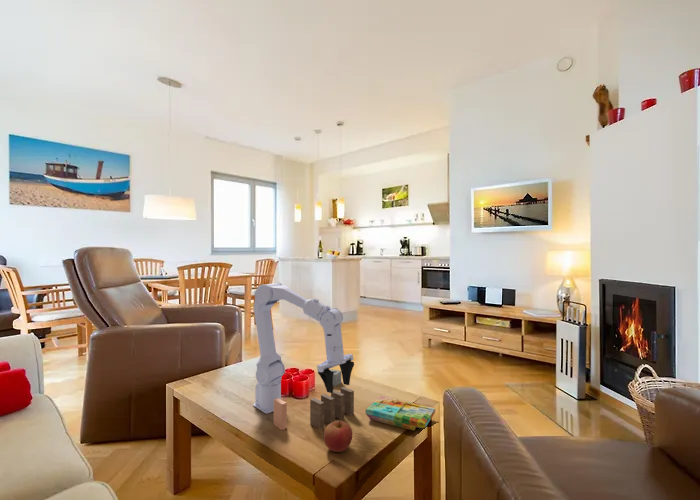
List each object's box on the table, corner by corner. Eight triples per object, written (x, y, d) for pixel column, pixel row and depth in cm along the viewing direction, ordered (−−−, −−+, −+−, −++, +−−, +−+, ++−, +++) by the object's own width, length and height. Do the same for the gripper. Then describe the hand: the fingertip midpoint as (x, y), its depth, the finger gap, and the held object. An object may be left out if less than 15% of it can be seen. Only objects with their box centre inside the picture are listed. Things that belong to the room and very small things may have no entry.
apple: (355, 442, 99) (355, 415, 99) (348, 458, 91) (348, 428, 91) (329, 439, 101) (329, 412, 101) (320, 454, 93) (320, 425, 93)
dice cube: (335, 386, 141) (335, 374, 141) (325, 384, 143) (325, 372, 143) (341, 382, 146) (341, 370, 146) (331, 380, 148) (331, 369, 148)
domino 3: (330, 424, 109) (330, 399, 110) (320, 419, 113) (320, 395, 113) (334, 423, 111) (334, 398, 111) (324, 417, 114) (324, 393, 114)
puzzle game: (379, 394, 123) (435, 405, 113) (379, 407, 123) (435, 420, 113) (365, 406, 113) (425, 421, 103) (365, 421, 113) (425, 436, 103)
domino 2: (320, 429, 106) (320, 404, 106) (310, 424, 110) (310, 399, 110) (324, 428, 108) (324, 402, 108) (314, 422, 111) (314, 397, 111)
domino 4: (340, 420, 113) (340, 395, 113) (330, 415, 116) (331, 391, 116) (344, 418, 114) (344, 394, 114) (334, 413, 117) (334, 390, 117)
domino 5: (350, 415, 116) (350, 392, 116) (340, 410, 119) (340, 387, 119) (353, 414, 117) (353, 390, 117) (343, 409, 120) (343, 386, 120)
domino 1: (282, 430, 106) (282, 404, 106) (273, 424, 110) (273, 399, 110) (286, 428, 107) (286, 402, 107) (277, 422, 111) (277, 398, 111)
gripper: (326, 352, 105) (330, 398, 104) (357, 342, 115) (362, 383, 114) (311, 350, 109) (315, 393, 109) (343, 340, 120) (347, 379, 119)
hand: (338, 388), depth 112 cm, fingers open, 7 cm apart
